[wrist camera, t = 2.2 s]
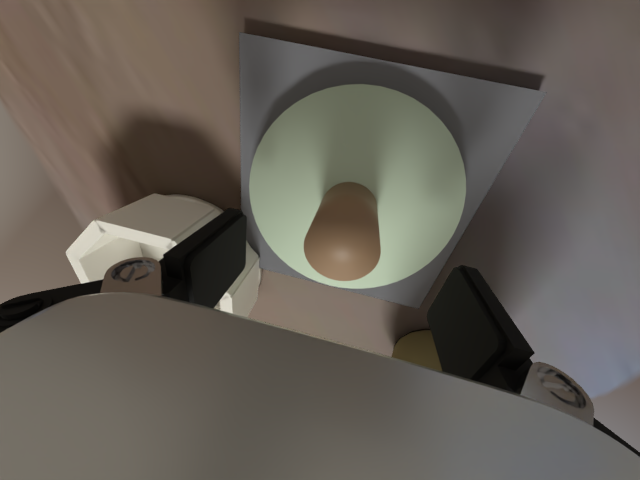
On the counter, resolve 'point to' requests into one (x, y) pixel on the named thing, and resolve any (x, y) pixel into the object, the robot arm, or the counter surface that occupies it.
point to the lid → (357, 186)
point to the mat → (419, 83)
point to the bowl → (157, 242)
